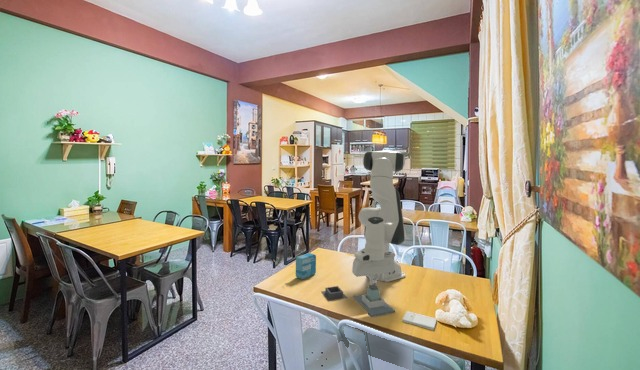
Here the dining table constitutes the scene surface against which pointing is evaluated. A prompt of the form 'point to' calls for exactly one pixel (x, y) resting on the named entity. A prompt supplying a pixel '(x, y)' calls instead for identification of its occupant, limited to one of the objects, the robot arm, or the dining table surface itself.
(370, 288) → the plug
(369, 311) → the dock
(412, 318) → the external hard drive
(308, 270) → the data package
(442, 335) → the dining table surface
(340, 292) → the dark grey square box
